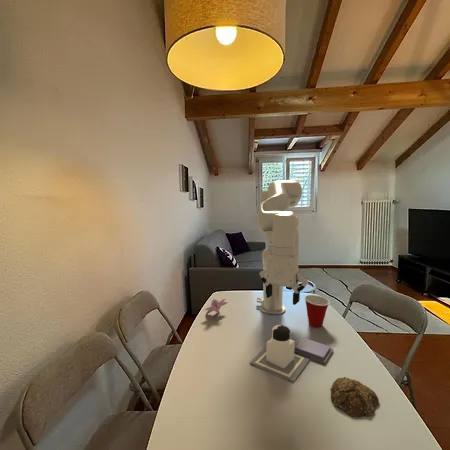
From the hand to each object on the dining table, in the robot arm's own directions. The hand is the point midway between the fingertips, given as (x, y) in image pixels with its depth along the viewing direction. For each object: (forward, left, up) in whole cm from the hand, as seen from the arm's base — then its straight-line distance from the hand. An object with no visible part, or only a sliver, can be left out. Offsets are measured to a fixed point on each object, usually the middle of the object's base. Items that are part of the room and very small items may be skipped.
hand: (282, 299), depth 95 cm
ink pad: (+7, +12, -22) cm, 27 cm away
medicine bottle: (0, -1, -22) cm, 22 cm away
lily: (-40, +15, -23) cm, 48 cm away
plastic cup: (+1, +34, -23) cm, 41 cm away
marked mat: (0, -1, -22) cm, 22 cm away
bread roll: (+25, -5, -23) cm, 34 cm away
